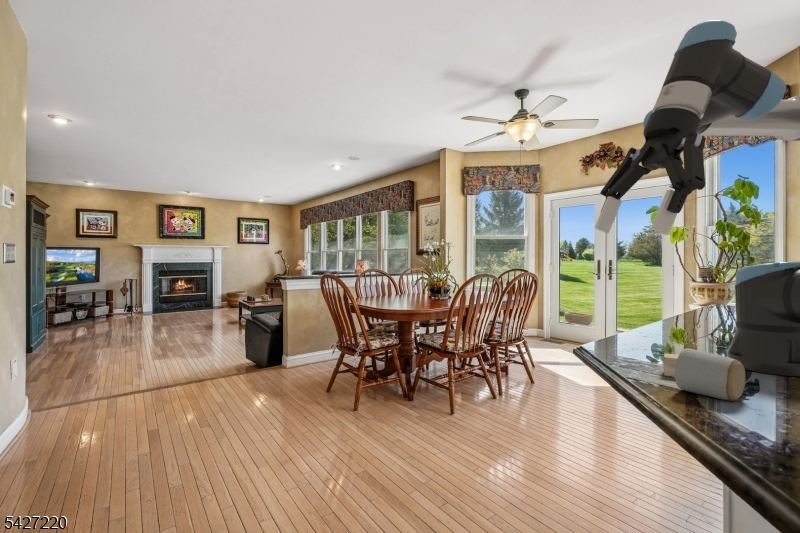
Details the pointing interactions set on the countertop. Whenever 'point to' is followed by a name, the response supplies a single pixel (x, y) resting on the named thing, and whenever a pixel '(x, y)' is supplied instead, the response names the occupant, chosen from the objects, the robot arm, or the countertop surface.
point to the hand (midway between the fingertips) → (627, 231)
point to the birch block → (670, 364)
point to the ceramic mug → (709, 374)
